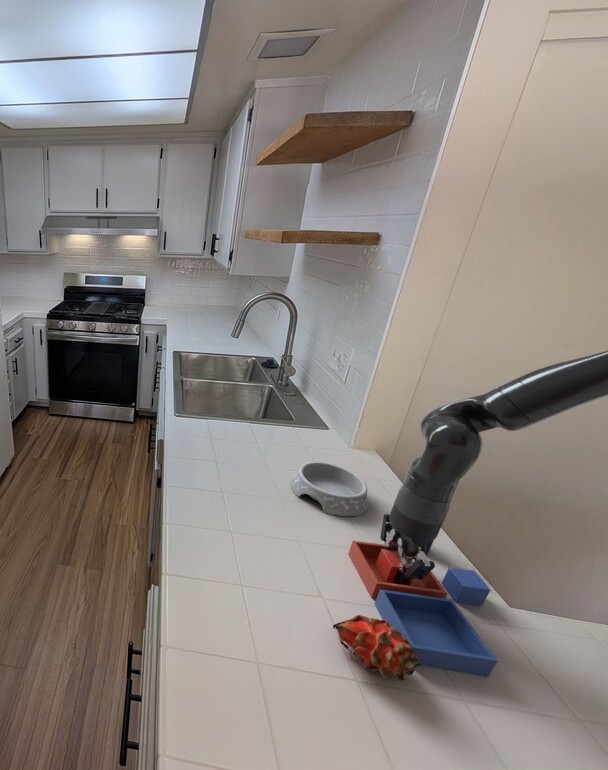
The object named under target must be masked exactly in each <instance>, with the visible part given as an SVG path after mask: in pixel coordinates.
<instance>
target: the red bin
mask: <svg viewBox="0 0 608 770" xmlns="http://www.w3.org/2000/svg"><path fill="white" fill-rule="evenodd" d="M381 549H384V543H375V542H367V541H357V540H352V541H351V545H350V548H349V551H348V553H347V554H348V557H349V558H350V560H351V562H352V564H353V566H354V568H355V570H356V572H357V574H358V575H359V577H360V580H361V581H362V584H363V585H364V587H365V589H366V590H367V592H368V594H369V596H370V598H371V599H377V596H378V594H379V591H380V589H381V590H388V591H395V592H402V593H409V594H416V595H423V596H430V597H437V598H444V599H446V597H447V595H448V591H447V590H446V589H445V587H444V586H443V585H442V583H440V581H439V580H438V578H437V577H436V575H435V574H434V573H433V572H432V570H431V571H430V572H429V573H428V574H427V575H426V576H425V577H424V578H423V579H422V580H417V579H413V580H412V583H411V585H410V586H409V585H408V586H407V585H400V584H394V583H388V582H385V580H384V578H383V577H382V575H381V573H380V572H379V570H378V568H377V567H376V562H377V559H378V557H379V554H380V551H381ZM384 550H385V549H384ZM408 557H413V556H408Z"/></svg>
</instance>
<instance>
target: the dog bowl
mask: <svg viewBox="0 0 608 770" xmlns="http://www.w3.org/2000/svg"><path fill="white" fill-rule="evenodd" d="M290 485H291V489H292V491H293V493H294V494H295V496H297V497H298V498H299V497H301V496H302V495H305V494H306V495H308V496H309V497H310V498H311V499H312V500H315V501H316V502H318V503H319V504H320V505H321V507H322V511H323V512H324V513H326V514H329V515H333V516H339V517H355V516H356V517H357V516H360V515H362V514H363V513H365V512H366V511H367V509H368V486H367V484H366V482H365V481H364V479H362V478H361V477H360V476H359V475H358V474H356V473H355V472H353V471H352V470H350V469H348V468H346V467H342V466H341V465H337V464H334V463H330V462H324V461H310V462H306V463H303V464H302V465H301V466H300V467H299V468H298V470H297V472H296V473H295V475H294V477H293V478H292V480H291V482H290Z"/></svg>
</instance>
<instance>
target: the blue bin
mask: <svg viewBox="0 0 608 770" xmlns="http://www.w3.org/2000/svg"><path fill="white" fill-rule="evenodd" d="M374 606H375V608H376V609H377V612H378V613H379V615H380V617H381V620H385V621H387V622H388V623H389V625H390V626H391V627H393V628H395V629H396V630H397V631H399V632H400V633H401V634H402V638H403V639H404V638H405V639H407V640H408V641H409V643H410V644H411V645H412V647H413V649H414V650H413V651H414V652H413V654H415V655H416V656H417V658H418V661H419V663H420V665H419V666H424V667H429V668H434V669H441V670H446V671H453V672H458V673H463V674H470V675H475V676H481V677H487V678H489V676H490V674H491V673H492V672H493V670H494V668H495V667H496V665H497V663H498V659H497V658H496V657H495V655H494V653H492V651H491V650H490V649H489V647H488V646H487V644H486V643H485V642H484V641H483V639H482V638H481V636H480V635H479V634H478V632H477V631H476V630H475V628H474V627H473V626H472V624H471V623H470V621H469V620H468V619H467V618H466V616H465V615H464V614H463V612H462V611H461V609H460V608H459V607H458V606H457V604H456V602H455V601H454V599H450V598H445V599H444V598H437V597H430V596H423V595H416V594H409V593H402V592H395V591H388V590H381V589H380V591H379V594H378V596H377V598H375V601H374Z"/></svg>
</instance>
